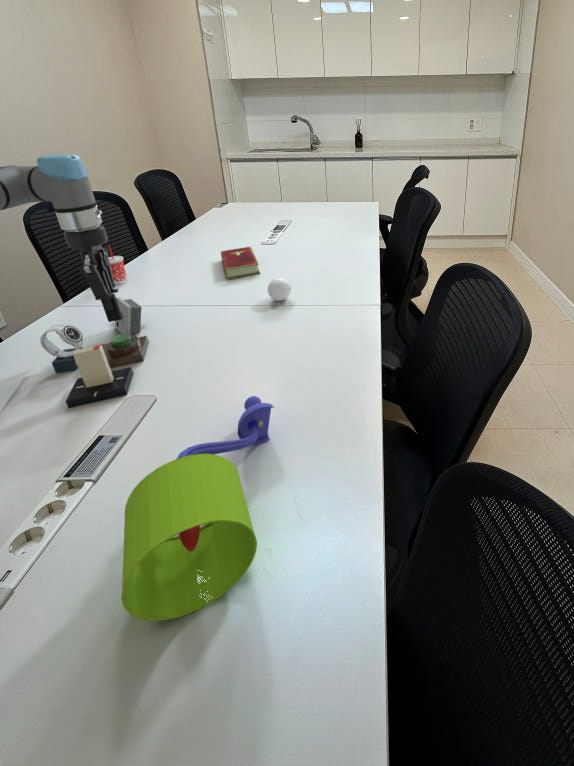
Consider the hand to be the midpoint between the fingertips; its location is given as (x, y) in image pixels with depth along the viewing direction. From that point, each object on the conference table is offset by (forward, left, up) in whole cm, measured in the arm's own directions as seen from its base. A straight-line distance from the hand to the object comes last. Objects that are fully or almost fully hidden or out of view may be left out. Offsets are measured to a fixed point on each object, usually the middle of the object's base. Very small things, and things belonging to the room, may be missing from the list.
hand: (115, 319), depth 95 cm
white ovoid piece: (+41, +17, -11) cm, 46 cm away
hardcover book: (+30, +50, -11) cm, 60 cm away
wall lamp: (+22, -50, -11) cm, 56 cm away
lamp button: (0, 0, -7) cm, 7 cm away
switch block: (-2, 0, -11) cm, 11 cm away
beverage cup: (-12, +53, -11) cm, 55 cm away
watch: (-12, +1, -11) cm, 17 cm away
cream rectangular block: (-3, -13, -9) cm, 16 cm away
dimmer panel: (-3, -13, -11) cm, 17 cm away
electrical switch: (-2, +14, -11) cm, 18 cm away
